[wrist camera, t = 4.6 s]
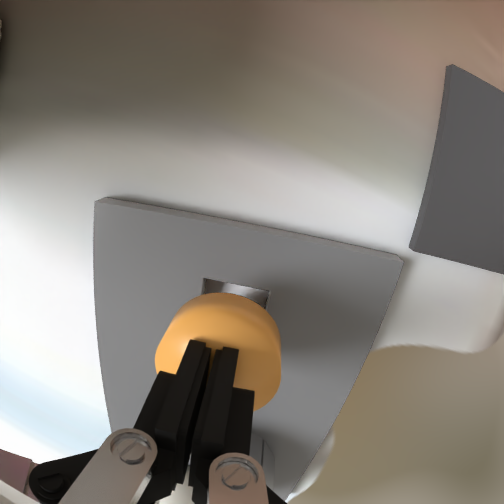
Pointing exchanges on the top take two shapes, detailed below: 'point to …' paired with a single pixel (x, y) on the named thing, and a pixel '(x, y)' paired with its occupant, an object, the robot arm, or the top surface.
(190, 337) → the plunger
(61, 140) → the top surface
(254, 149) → the top surface
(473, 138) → the mat
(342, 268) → the plate
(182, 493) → the cylinder
